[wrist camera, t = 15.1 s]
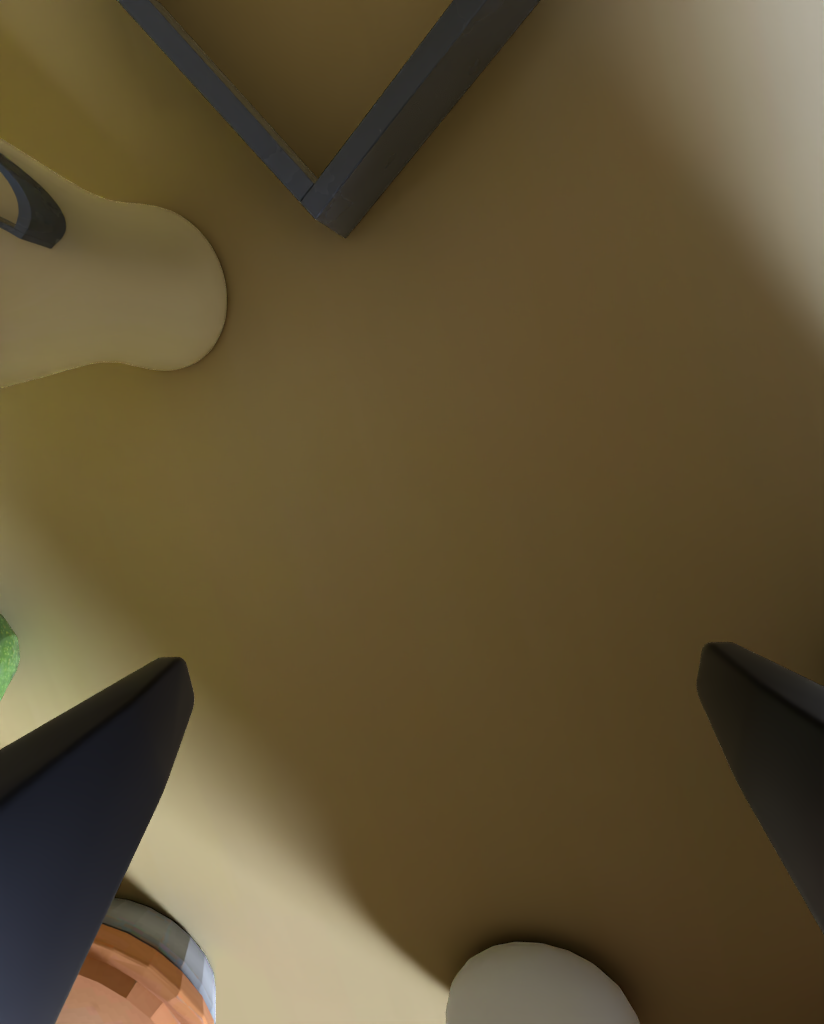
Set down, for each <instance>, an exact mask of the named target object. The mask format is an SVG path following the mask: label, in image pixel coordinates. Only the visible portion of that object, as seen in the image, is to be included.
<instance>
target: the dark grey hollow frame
mask: <svg viewBox="0 0 824 1024" xmlns="http://www.w3.org/2000/svg"><path fill="white" fill-rule="evenodd" d="M117 1H118V2H119V3H120V5H121V6H122V7H123V8H124V9H125V10H126V11H127V12H128V13H129V14H130V16H131V17H132V18H133V19H134V20H135V21H136V22H137V23H138V24H139V25H140V27H141V28H142V29H143V30H144V31H145V32H146V33H147V34H148V35H149V36H150V38H151V39H152V40H153V41H154V42H155V43H156V44H157V45H158V46H159V48H160V49H161V50H162V51H163V52H164V53H165V54H166V55H167V56H168V57H169V59H170V60H171V61H172V62H173V63H174V64H175V65H176V66H177V67H178V68H179V70H180V71H181V72H182V73H183V74H184V75H185V76H186V77H187V78H188V80H189V81H190V82H191V83H192V84H193V85H194V86H195V87H196V88H197V89H198V91H199V92H200V93H201V94H202V95H203V96H204V97H205V98H206V99H207V100H208V102H209V103H210V104H211V105H212V106H213V107H214V108H215V109H216V110H217V111H218V113H219V114H220V115H221V116H222V117H223V118H224V119H225V120H226V121H227V123H228V124H229V125H230V126H231V127H232V128H233V129H234V130H235V131H236V132H237V134H238V135H239V136H240V137H241V138H242V139H243V140H244V141H245V142H246V143H247V145H248V146H249V147H250V148H251V149H252V150H253V151H254V152H255V153H256V155H257V156H258V157H259V158H260V159H261V160H262V161H263V162H264V163H265V164H266V166H267V167H268V168H269V169H270V170H271V171H272V172H273V173H274V174H275V175H276V177H277V178H278V179H279V180H280V181H281V182H282V183H283V184H284V185H285V186H286V188H287V189H288V190H289V191H290V192H291V193H292V194H293V195H294V196H295V198H296V199H297V200H298V201H299V202H301V204H302V205H303V206H304V207H305V209H306V210H307V211H308V212H309V213H310V214H311V215H312V216H313V217H314V218H315V219H316V220H317V221H319V222H321V223H322V224H324V225H325V226H327V227H328V228H330V229H331V230H333V231H334V232H336V233H337V234H339V235H341V236H342V237H344V238H346V237H347V236H348V235H349V234H350V232H351V231H352V230H353V229H354V228H355V226H356V225H357V224H358V223H359V221H360V220H361V219H362V218H363V217H364V215H365V214H366V213H367V212H368V210H369V209H370V208H371V207H372V206H373V204H374V203H375V202H376V201H377V199H378V198H379V197H380V196H381V195H382V193H383V192H384V191H385V190H386V188H387V187H388V186H389V185H390V184H391V182H392V181H393V180H394V179H395V177H396V176H397V175H398V174H399V173H400V171H401V170H402V169H403V168H404V166H405V165H406V164H407V163H408V161H409V160H410V159H411V158H412V157H413V155H414V154H415V153H416V152H417V150H418V149H419V148H420V147H421V146H422V144H423V143H424V142H425V141H426V139H427V138H428V137H429V136H430V135H431V133H432V132H433V131H434V130H435V128H436V127H437V126H438V125H439V124H440V122H441V121H442V120H443V119H444V117H445V116H446V115H447V114H448V113H449V111H450V110H451V109H452V108H453V106H454V105H455V104H456V103H457V102H458V100H459V99H460V98H461V97H462V95H463V94H464V93H465V92H466V90H467V89H468V88H469V87H470V86H471V84H472V83H473V82H474V81H475V79H476V78H477V77H478V76H479V75H480V73H481V72H482V71H483V70H484V68H485V67H486V66H487V65H488V64H489V62H490V61H491V60H492V59H493V57H494V56H495V55H496V54H497V53H498V51H499V50H500V49H501V48H502V46H503V45H504V44H505V43H506V42H507V40H508V39H509V38H510V37H511V35H512V34H513V33H514V32H515V31H516V29H517V28H518V27H519V26H520V24H521V23H522V22H523V21H524V20H525V18H526V17H527V16H528V15H529V13H530V12H531V11H532V10H533V8H534V7H535V6H536V5H537V4H538V2H539V1H540V0H453V1H452V3H451V4H450V5H449V7H448V8H447V9H446V11H445V12H444V13H443V15H442V16H441V17H440V19H439V20H438V21H437V23H436V24H435V25H434V27H433V28H432V29H431V30H430V32H429V33H428V34H427V36H426V37H425V38H424V40H423V41H422V42H421V44H420V45H419V46H418V48H417V49H416V50H415V52H414V53H413V54H412V56H411V57H410V58H409V60H408V61H407V62H406V63H405V65H404V66H403V67H402V69H401V70H400V71H399V73H398V74H397V75H396V77H395V78H394V79H393V81H392V82H391V83H390V85H389V86H388V87H387V89H386V90H385V91H384V93H383V94H382V95H381V97H380V98H379V99H378V100H377V102H376V103H375V104H374V106H373V107H372V108H371V110H370V111H369V112H368V114H367V115H366V116H365V118H364V119H363V120H362V122H361V123H360V124H359V126H358V127H357V128H356V130H355V131H354V132H353V133H352V135H351V136H350V137H349V139H348V140H347V141H346V143H345V144H344V145H343V147H342V148H341V149H340V151H339V152H338V153H337V155H336V156H335V157H334V159H333V160H332V161H331V163H330V164H329V165H328V167H327V168H326V169H325V170H324V172H323V173H322V174H321V176H320V177H319V178H317V177H316V176H315V175H314V174H313V173H312V172H311V171H310V169H309V168H308V167H307V166H306V165H305V164H304V163H303V162H302V160H301V159H300V158H299V157H298V156H297V155H296V154H295V153H294V152H293V150H292V149H291V148H290V147H289V146H288V145H287V144H286V143H285V142H284V140H283V139H282V138H281V137H280V136H279V135H278V134H277V133H276V132H275V130H274V129H273V128H272V127H271V126H270V125H269V124H268V123H267V122H266V120H265V119H264V118H263V117H262V116H261V115H260V114H259V113H258V112H257V110H256V109H255V108H254V107H253V106H252V105H251V104H250V103H249V101H248V100H247V99H246V98H245V97H244V96H243V95H242V94H241V93H240V91H239V90H238V89H237V88H236V87H235V86H234V85H233V84H232V83H231V81H230V80H229V79H228V78H227V77H226V76H225V75H224V74H223V73H222V71H221V70H220V69H219V68H218V67H217V66H216V65H215V64H214V63H213V61H212V60H211V59H210V58H209V57H208V56H207V55H206V54H205V53H204V51H203V50H202V49H201V48H200V47H199V46H198V45H197V44H196V42H195V41H194V40H193V39H192V38H191V37H190V36H189V35H188V34H187V32H186V31H185V30H184V29H183V28H182V27H181V26H180V25H179V24H178V22H177V21H176V20H175V19H174V18H173V17H172V16H171V15H170V14H169V12H168V11H167V10H166V9H165V8H164V7H163V6H162V5H161V4H160V2H159V1H158V0H117Z"/></svg>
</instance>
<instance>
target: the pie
mask: <svg viewBox="0 0 824 1024" xmlns="http://www.w3.org/2000/svg"><path fill="white" fill-rule="evenodd" d="M215 1013H216V989H215V981H214V974H213V970H212V968H211V966H210V964H209V962H208V960H207V958H206V956H205V954H204V952H203V951H202V950H201V949H200V947H199V946H198V945H197V944H196V943H195V941H194V940H193V939H192V938H191V936H190V935H189V934H187V933H186V932H185V931H184V930H183V929H182V928H180V927H179V926H178V925H177V924H176V923H174V922H173V921H172V920H171V919H169V918H167V917H165V916H164V915H162V914H160V913H159V912H157V911H155V910H153V909H152V908H149V907H147V906H144V905H141V904H138V903H135V902H133V901H130V900H125V899H118V898H114V899H113V901H112V903H111V905H110V907H109V910H108V912H107V914H106V916H105V918H104V920H103V922H102V924H101V927H100V929H99V931H98V933H97V935H96V937H95V939H94V942H93V944H92V946H91V948H90V950H89V952H88V954H87V957H86V959H85V961H84V963H83V965H82V967H81V969H80V971H79V974H78V976H77V978H76V980H75V982H74V984H73V986H72V989H71V991H70V993H69V995H68V997H67V999H66V1001H65V1004H64V1006H63V1008H62V1010H61V1012H60V1014H59V1016H58V1018H57V1021H56V1023H55V1024H215Z"/></svg>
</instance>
